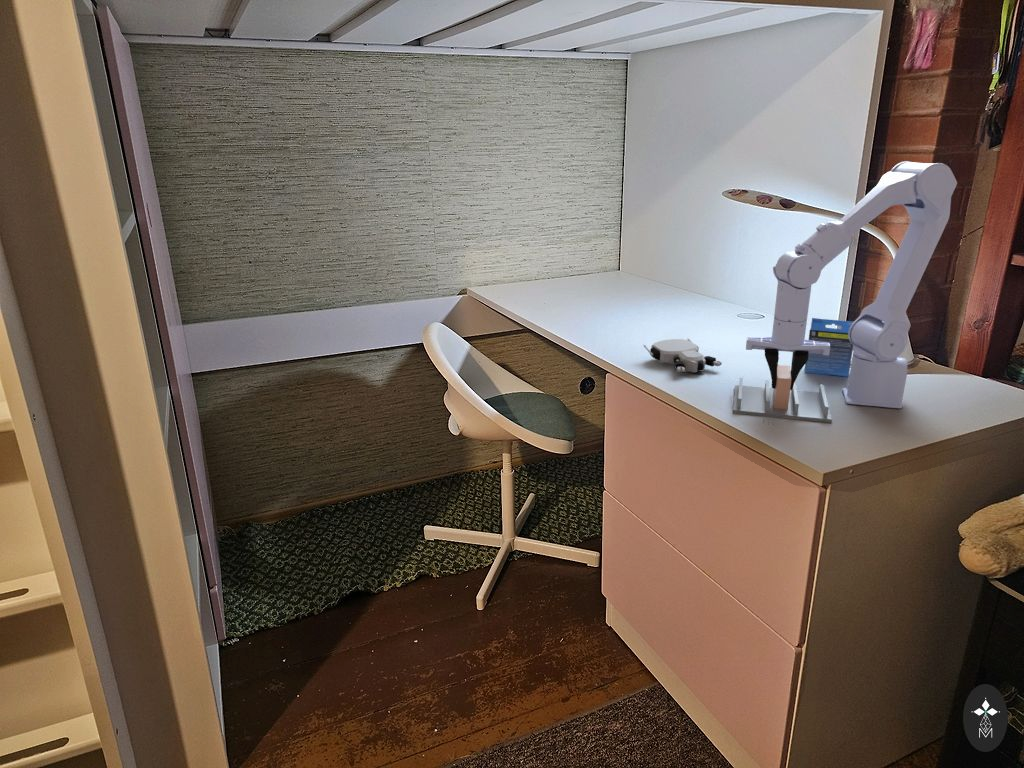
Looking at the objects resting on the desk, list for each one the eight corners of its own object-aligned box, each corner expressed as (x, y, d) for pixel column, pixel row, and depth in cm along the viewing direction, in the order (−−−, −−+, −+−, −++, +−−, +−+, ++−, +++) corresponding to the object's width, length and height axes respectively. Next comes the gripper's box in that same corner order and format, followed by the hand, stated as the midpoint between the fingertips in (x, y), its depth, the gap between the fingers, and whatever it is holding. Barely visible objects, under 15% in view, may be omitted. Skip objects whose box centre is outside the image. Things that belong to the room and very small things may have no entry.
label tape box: (848, 372, 149) (857, 317, 145) (848, 378, 146) (857, 321, 142) (804, 367, 153) (811, 313, 149) (803, 373, 149) (811, 318, 145)
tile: (786, 394, 136) (789, 365, 134) (787, 409, 129) (791, 379, 127) (773, 393, 137) (776, 364, 135) (774, 408, 130) (777, 378, 127)
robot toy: (724, 375, 152) (685, 352, 164) (726, 356, 150) (687, 334, 163) (676, 383, 148) (640, 359, 160) (678, 364, 146) (642, 341, 159)
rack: (824, 395, 137) (826, 383, 136) (831, 422, 124) (833, 409, 123) (735, 387, 142) (736, 375, 141) (732, 412, 129) (734, 400, 128)
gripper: (831, 315, 128) (821, 383, 133) (749, 311, 133) (742, 377, 138) (834, 325, 122) (824, 396, 127) (748, 320, 127) (741, 389, 131)
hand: (782, 387), depth 132 cm, fingers closed on tile, 2 cm apart
